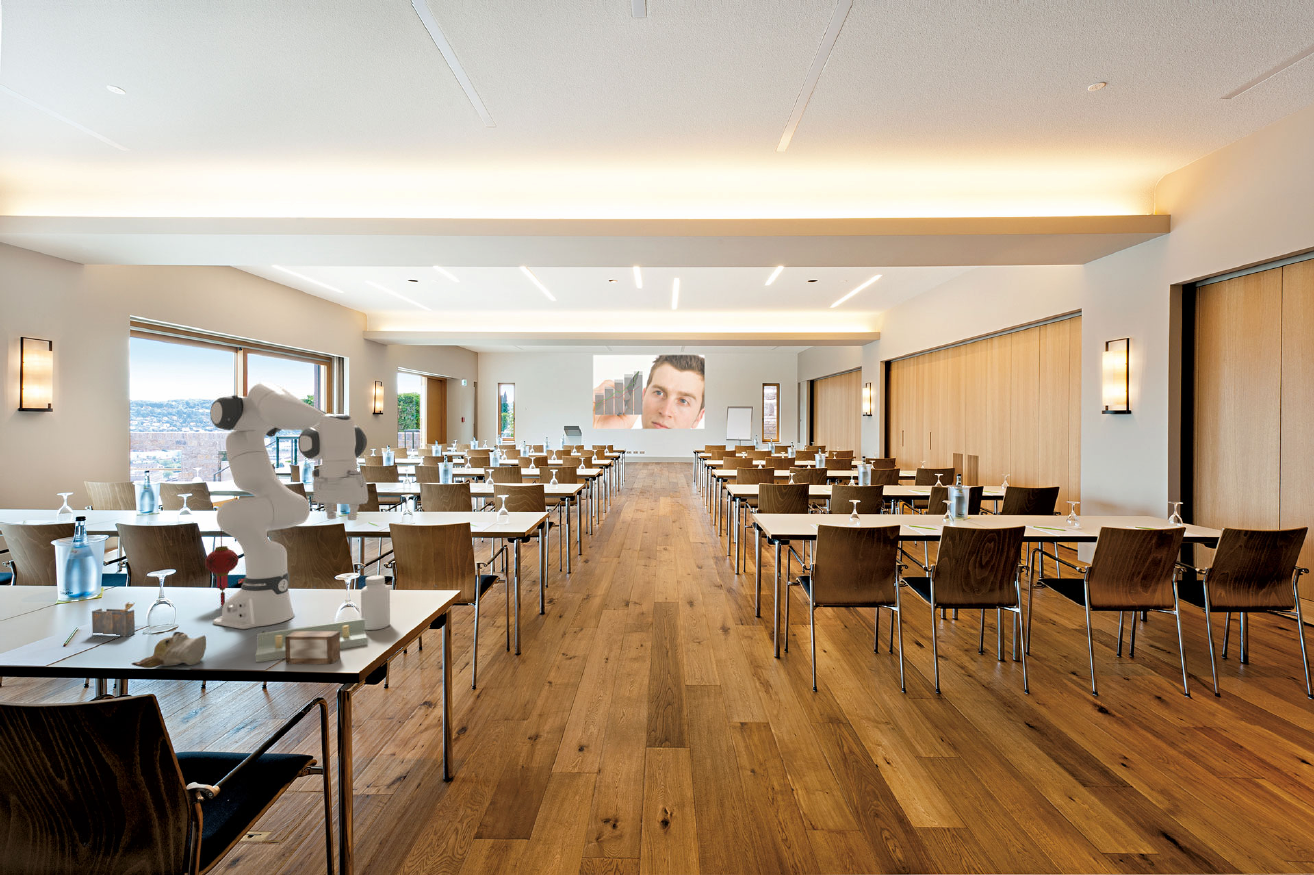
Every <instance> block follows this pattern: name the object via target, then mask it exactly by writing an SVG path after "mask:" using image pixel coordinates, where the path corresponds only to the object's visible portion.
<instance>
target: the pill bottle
mask: <svg viewBox="0 0 1314 875" xmlns="http://www.w3.org/2000/svg"><path fill="white" fill-rule="evenodd" d="M385 578H386V577H385V576H384V575H383V574H382V575H380V574H379V575H378V574H377V575H370V576H367V577H366V578H365V586H364V587H362V588H361V591H360V600H361V601H360V607H361V608H360V612H361V613H360V617H361V618H360V619H365V630H366V631H375V630H380V629H385V628H387V627H389V626H390V624H391V604H390V603H391V597H390V596H391V593H390V592H391V591H390V587H389V586H388V585H387V584H386V581H385V580H386V579H385Z"/></svg>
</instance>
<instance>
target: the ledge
mask: <svg viewBox="0 0 1314 875" xmlns="http://www.w3.org/2000/svg"><path fill="white" fill-rule="evenodd" d="M294 631H340V650H343V649H349V648H355V647H361V646H367V643H368V641H367V638H368V637H367V634H366V631H365V619H361V618H357V619H352V620H350V619H349V620H345V621H343V620H342V621H337V622H331V623H323V624H316V625H315V624H314V625H311V626H310V625H308V626H301V627H294V628H288V629H281V630H280V629H279V630H275V631H274V630H273V631H267V632H266V631H265V632H260V633H259V632H258V633H257V648H256V653H255V663H263V662H268V661H274V660H282V659H286V653H285V636H287V635H289V634H291V633H293V632H294Z"/></svg>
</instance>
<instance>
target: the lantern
mask: <svg viewBox="0 0 1314 875" xmlns="http://www.w3.org/2000/svg"><path fill="white" fill-rule="evenodd" d="M222 531H223V530H222V529H221V528H220V546H216V547H215V549H214V550H213V551H212V552H210V553H208V555H207V556H206V558H205V560H204V565H205V567H206V569H207V570H208V571H209V572H210V573H213V574H215V576H216V589H218V590H220V606H221V605H224V603H225V602H226V593H225V592H224V590H225V589H226V588H229V577H228V576H229V573H230V572H231V571H233V570H234V569H235V568H236V566H238V564H239V556H238V554H237V553H236V552H235V551H234V550H232V549H230V548H229V547H228V546H226V545H223V541H222V540H223V538H222V537H223V536H222Z"/></svg>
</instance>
